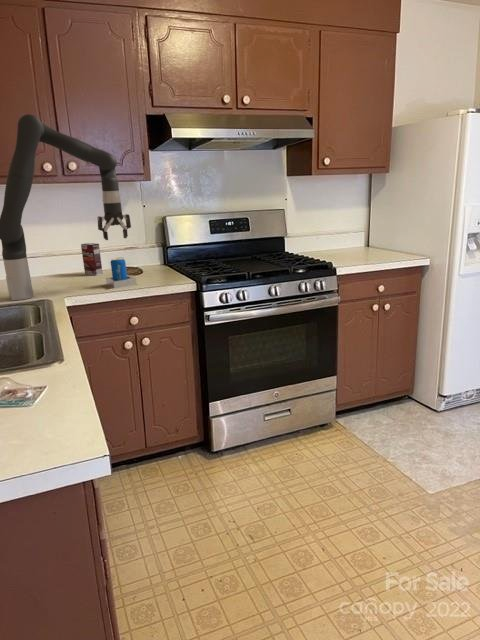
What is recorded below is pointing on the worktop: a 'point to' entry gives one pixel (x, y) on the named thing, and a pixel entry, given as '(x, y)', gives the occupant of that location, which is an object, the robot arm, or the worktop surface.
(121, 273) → the beverage can
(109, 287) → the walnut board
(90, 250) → the supplement box
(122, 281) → the metal collar
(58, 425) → the worktop surface
